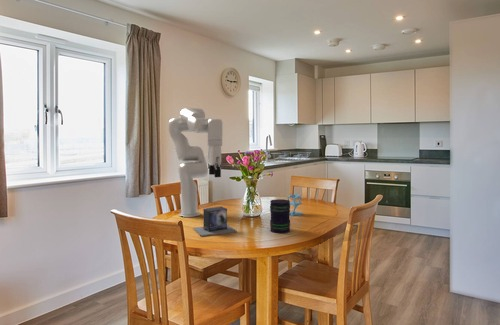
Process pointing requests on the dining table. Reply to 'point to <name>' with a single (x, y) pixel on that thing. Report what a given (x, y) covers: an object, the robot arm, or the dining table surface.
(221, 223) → the small box
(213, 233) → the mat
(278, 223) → the storage jar
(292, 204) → the chair
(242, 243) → the dining table surface
